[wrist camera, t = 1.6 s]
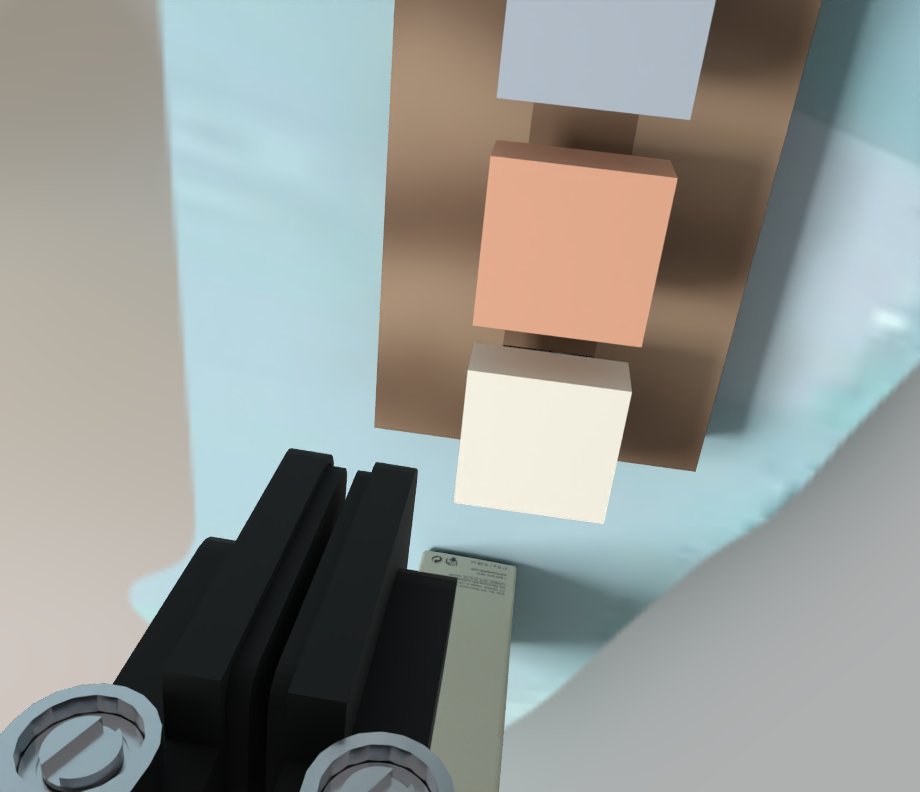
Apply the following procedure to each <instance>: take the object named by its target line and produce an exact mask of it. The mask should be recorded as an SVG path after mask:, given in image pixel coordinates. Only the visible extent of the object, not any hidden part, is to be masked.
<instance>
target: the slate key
mask: <svg viewBox="0 0 920 792" xmlns="http://www.w3.org/2000/svg"><path fill="white" fill-rule="evenodd" d="M715 2H716V0H507V5H506V14H505V24H504V33H503V42H502V52H501V61H500V71H499V80H498V90H497V98H502V99H510V100H519V101H528V102H537V103H545V104H554V105H563V106H571V107H580V108H589V109H598V110H606V111H615V112H624V113H633V114H641V115H650V116H659V117H667V118H676V119H685V120H690V118H691V114H692V109H693V104H694V100H695V95H696V90H697V86H698V81H699V76H700V72H701V67H702V62H703V58H704V53H705V48H706V44H707V39H708V34H709V30H710V25H711V20H712V16H713V11H714V6H715Z"/></svg>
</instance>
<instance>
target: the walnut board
mask: <svg viewBox="0 0 920 792" xmlns="http://www.w3.org/2000/svg"><path fill="white" fill-rule="evenodd" d="M821 3H822V0H716V2H715V6H714V11H713V16H712V20H711V25H710V30H709V34H708V39H707V44H706V48H705V53H704V58H703V62H702V67H701V72H700V76H699V81H698V86H697V90H696V95H695V100H694V104H693V109H692V114H691V118H690V120H685V119H676V118H667V117H659V116H650V115H641V114H633V113H624V112H615V111H606V110H598V109H589V108H580V107H571V106H563V105H554V104H545V103H537V102H528V101H519V100H510V99H502V98H497V90H498V80H499V71H500V61H501V52H502V42H503V33H504V24H505V14H506V5H507V0H395V9H394V30H393V51H392V72H391V93H390V113H389V134H388V155H387V176H386V197H385V218H384V239H383V259H382V280H381V301H380V322H379V343H378V364H377V385H376V406H375V426H374V427H375V428H382V429H389V430H396V431H404V432H411V433H418V434H425V435H433V436H440V437H447V438H455V439H461V430H462V420H463V411H464V401H465V392H466V382H467V373H468V367H469V363H470V359H471V354H472V350H473V346H474V342H475V343H482V344H490V345H498V346H504V345H509V346H517V347H524V348H532V349H539V350H547V351H555V352H562V353H570V354H578V355H585V356H588V357H589V358H597V359H605V360H612V361H620V362H627V363H628V364H629V372H630V380H631V388H632V394H631V399H630V404H629V408H628V413H627V418H626V422H625V427H624V432H623V436H622V441H621V446H620V450H619V455H618V460H617V461H622V462H629V463H636V464H644V465H651V466H658V467H665V468H673V469H680V470H687V471H694V472H695V471H696V468H697V464H698V460H699V456H700V453H701V449H702V445H703V442H704V438H705V434H706V430H707V427H708V423H709V419H710V415H711V412H712V408H713V404H714V401H715V397H716V393H717V389H718V386H719V382H720V378H721V375H722V371H723V367H724V363H725V360H726V356H727V352H728V349H729V345H730V341H731V337H732V334H733V330H734V326H735V323H736V319H737V315H738V311H739V308H740V304H741V300H742V296H743V293H744V289H745V285H746V282H747V278H748V274H749V270H750V267H751V263H752V259H753V256H754V252H755V248H756V244H757V241H758V237H759V233H760V230H761V226H762V222H763V218H764V215H765V211H766V207H767V204H768V200H769V196H770V192H771V189H772V185H773V181H774V177H775V174H776V170H777V166H778V163H779V159H780V155H781V151H782V148H783V144H784V140H785V137H786V133H787V129H788V125H789V122H790V118H791V114H792V111H793V107H794V103H795V99H796V96H797V92H798V88H799V85H800V81H801V77H802V73H803V70H804V66H805V62H806V59H807V55H808V51H809V47H810V44H811V40H812V36H813V32H814V29H815V25H816V21H817V18H818V14H819V10H820V6H821ZM496 140H503V141H512V142H520V143H529V144H537V145H546V146H554V147H563V148H571V149H580V150H588V151H597V152H605V153H614V154H622V155H631V156H639V157H648V158H656V159H665V160H670V161H671V163H672V165H673V168H674V170H675V173H676V175H677V178H678V179H677V184H676V189H675V193H674V198H673V203H672V207H671V212H670V217H669V221H668V226H667V231H666V235H665V240H664V245H663V249H662V254H661V259H660V263H659V268H658V273H657V277H656V282H655V287H654V291H653V296H652V301H651V305H650V310H649V315H648V320H647V324H646V329H645V334H644V338H643V343H642V347H634V346H627V345H619V344H611V343H604V342H596V341H588V340H581V339H573V338H565V337H557V336H550V335H542V334H534V333H527V332H519V331H511V330H504V329H496V328H488V327H480V326H473V316H474V307H475V297H476V288H477V279H478V269H479V260H480V250H481V241H482V231H483V222H484V212H485V203H486V194H487V184H488V175H489V165H490V156H491V153H492V150H493V147H494V145H495V142H496Z"/></svg>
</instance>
